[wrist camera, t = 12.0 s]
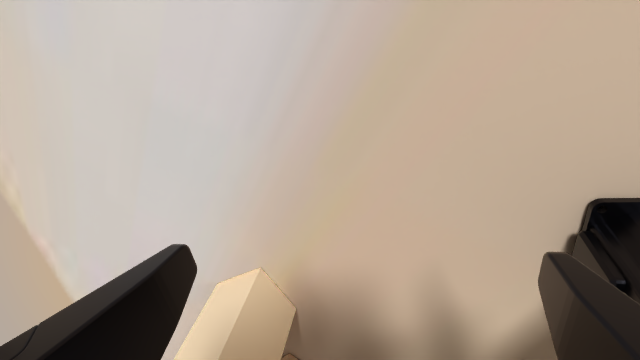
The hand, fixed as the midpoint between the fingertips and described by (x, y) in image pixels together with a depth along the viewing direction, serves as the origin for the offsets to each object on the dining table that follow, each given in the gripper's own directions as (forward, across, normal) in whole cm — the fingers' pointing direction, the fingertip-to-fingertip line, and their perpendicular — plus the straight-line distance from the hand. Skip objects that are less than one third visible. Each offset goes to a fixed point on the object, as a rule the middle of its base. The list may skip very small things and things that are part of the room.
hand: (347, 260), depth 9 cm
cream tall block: (+13, +11, +17) cm, 24 cm away
